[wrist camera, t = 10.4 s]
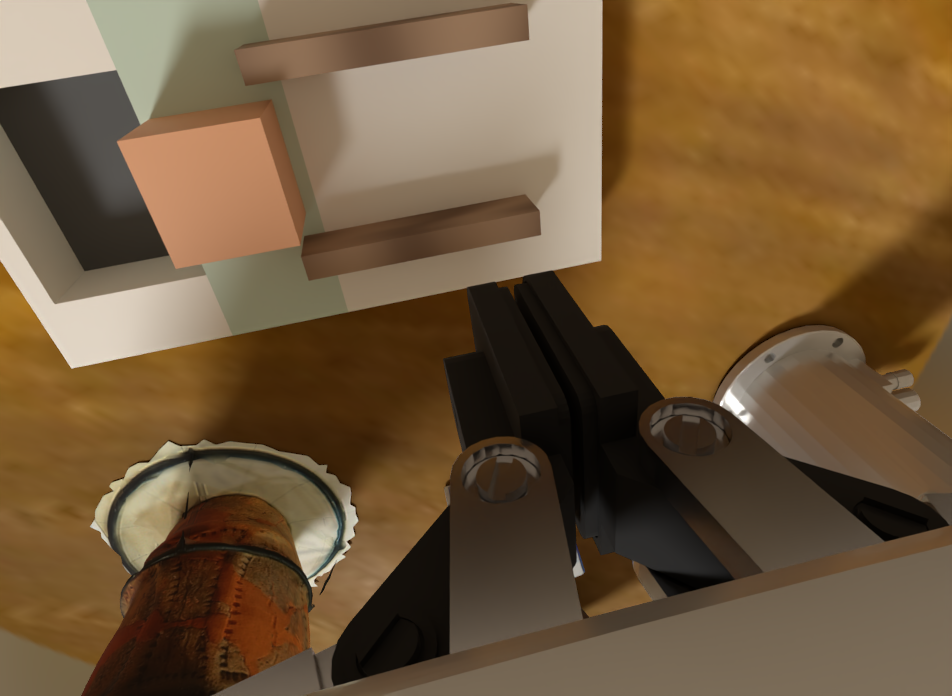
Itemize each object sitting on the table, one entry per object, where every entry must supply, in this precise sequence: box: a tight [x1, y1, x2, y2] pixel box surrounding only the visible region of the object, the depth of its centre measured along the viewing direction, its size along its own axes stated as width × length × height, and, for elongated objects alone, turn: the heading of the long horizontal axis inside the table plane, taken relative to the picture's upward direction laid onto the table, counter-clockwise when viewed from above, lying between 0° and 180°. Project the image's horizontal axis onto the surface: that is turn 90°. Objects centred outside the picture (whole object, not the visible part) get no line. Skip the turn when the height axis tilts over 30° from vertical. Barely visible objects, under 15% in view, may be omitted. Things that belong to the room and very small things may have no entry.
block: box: [117, 99, 306, 269], centre depth 23 cm, size 5×5×4 cm
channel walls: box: [234, 3, 541, 281], centre depth 24 cm, size 11×9×2 cm
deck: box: [0, 0, 602, 368], centre depth 27 cm, size 28×16×4 cm, turn 97°
